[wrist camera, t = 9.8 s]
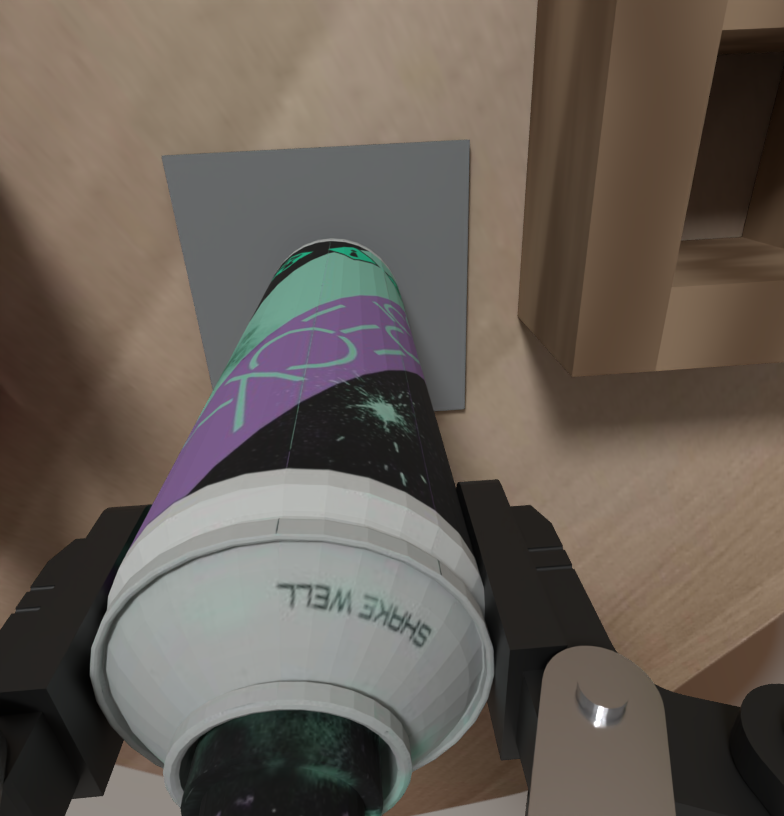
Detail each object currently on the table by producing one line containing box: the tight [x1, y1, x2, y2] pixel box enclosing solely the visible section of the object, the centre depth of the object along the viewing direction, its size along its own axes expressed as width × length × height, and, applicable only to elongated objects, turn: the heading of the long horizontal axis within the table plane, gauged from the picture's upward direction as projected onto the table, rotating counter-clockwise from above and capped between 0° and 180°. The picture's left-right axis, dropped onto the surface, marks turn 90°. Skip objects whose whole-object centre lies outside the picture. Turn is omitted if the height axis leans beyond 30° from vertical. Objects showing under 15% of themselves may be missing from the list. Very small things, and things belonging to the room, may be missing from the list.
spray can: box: [90, 238, 494, 816], centre depth 14 cm, size 6×6×20 cm
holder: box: [518, 0, 784, 377], centre depth 19 cm, size 13×13×7 cm
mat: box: [162, 140, 470, 411], centre depth 24 cm, size 12×12×1 cm
